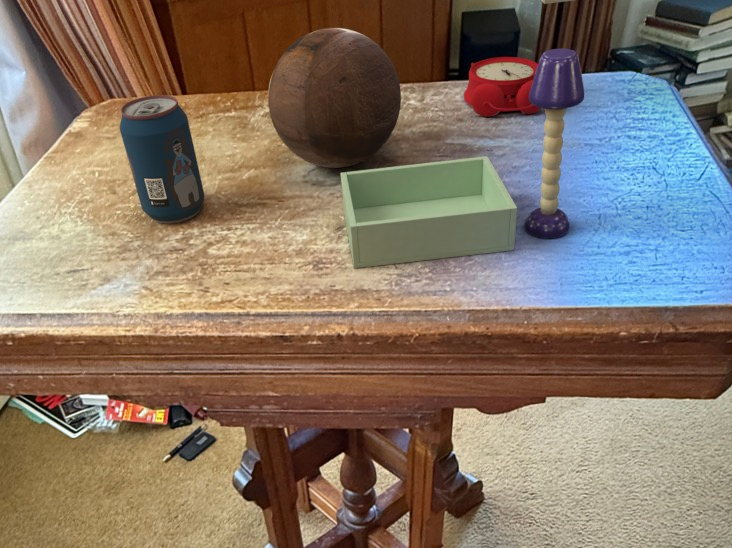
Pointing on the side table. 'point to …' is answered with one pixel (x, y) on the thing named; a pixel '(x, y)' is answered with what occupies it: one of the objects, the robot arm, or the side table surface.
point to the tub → (427, 212)
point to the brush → (553, 1)
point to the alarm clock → (501, 86)
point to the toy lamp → (553, 134)
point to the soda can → (162, 158)
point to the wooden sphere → (334, 97)
